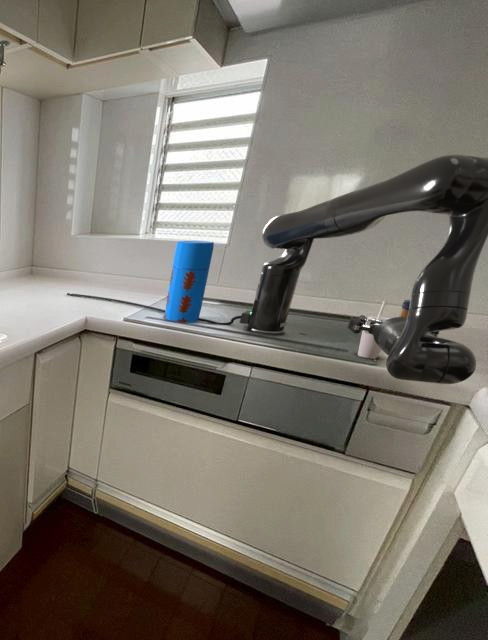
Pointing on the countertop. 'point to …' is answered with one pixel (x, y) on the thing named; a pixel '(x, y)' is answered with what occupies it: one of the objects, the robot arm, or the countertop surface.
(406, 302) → the jam lid
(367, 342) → the smoothie
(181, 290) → the thermos
